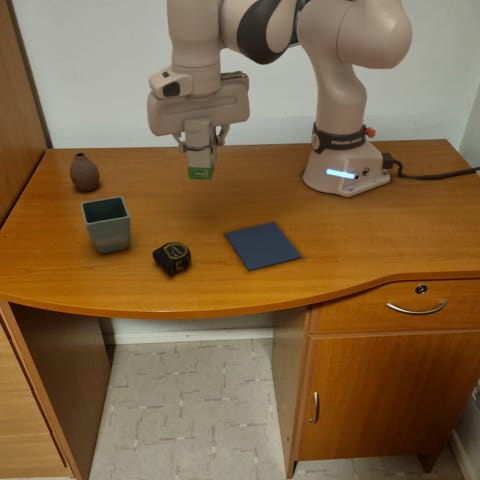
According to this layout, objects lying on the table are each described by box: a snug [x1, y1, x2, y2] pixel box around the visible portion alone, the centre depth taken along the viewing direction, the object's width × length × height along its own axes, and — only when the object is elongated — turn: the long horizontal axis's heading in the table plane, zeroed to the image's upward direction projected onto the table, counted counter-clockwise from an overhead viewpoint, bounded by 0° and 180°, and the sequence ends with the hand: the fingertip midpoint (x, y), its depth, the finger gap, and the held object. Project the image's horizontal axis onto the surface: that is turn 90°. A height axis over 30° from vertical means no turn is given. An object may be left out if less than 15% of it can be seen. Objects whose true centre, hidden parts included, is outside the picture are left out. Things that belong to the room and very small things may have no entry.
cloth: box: [224, 221, 303, 272], centre depth 104 cm, size 12×14×1 cm
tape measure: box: [152, 241, 192, 276], centre depth 98 cm, size 7×7×4 cm
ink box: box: [184, 117, 218, 181], centre depth 98 cm, size 9×5×12 cm, turn 172°
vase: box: [69, 151, 101, 192], centre depth 118 cm, size 7×7×9 cm
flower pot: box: [79, 195, 131, 254], centre depth 101 cm, size 9×9×9 cm
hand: (201, 148), depth 99 cm, fingers closed on ink box, 6 cm apart
